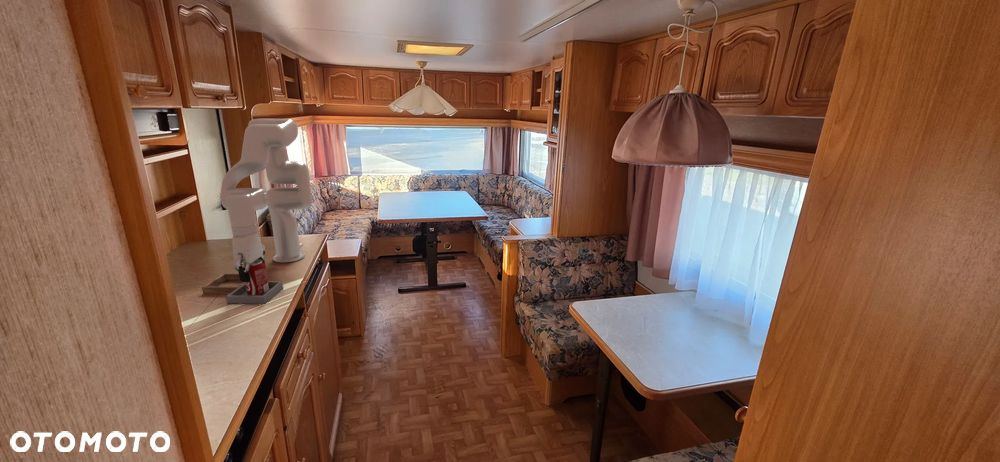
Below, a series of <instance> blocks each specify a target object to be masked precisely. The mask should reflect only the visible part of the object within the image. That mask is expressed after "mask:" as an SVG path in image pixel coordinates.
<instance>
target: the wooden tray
mask: <svg viewBox="0 0 1000 462" xmlns="http://www.w3.org/2000/svg"><path fill="white" fill-rule="evenodd" d="M226 281H240V277H239V273H234V272H233V273H231V272H230V273H227V272H226V273H225V272H224V273H222V274H221V275H220V276H218V277H216V278H214V279H213V280H212V281H210V282H208V283H207V284H205V285H204V286H202V287H201V289H202V290H201V291H202V294H205V295H207V294H208V295H210V294H211V295H229V294H230V293H232V292H233V291H234V290H236V289H237V288H239V287H240V286H241V285H243V284H244V283H245V282H240V284H239V285H237V286H220V285H221V284H223V283H225V282H226Z"/></svg>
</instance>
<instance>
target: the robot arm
mask: <svg viewBox="0 0 1000 462" xmlns="http://www.w3.org/2000/svg"><path fill="white" fill-rule="evenodd" d="M247 125H248V126H247V127H246V128H245V130H244V133H243V134H244V135H243V141H242V148H241V157H240V160H239V161H238V162H236V163H235V164H233V166H232V167H231V168H230V169H229V170H228V171H227V172H226V174H225V175H224V176H223V178H222V182H221V188H220V194H219V195H220V196H219V197H220V198H219V199H220V204H221V206H222V207H223V208H224V209H226V210H227V212H228V218H229V223H230V228H231V232H232V241H231V243H232V255H233V263H232V265H233V267H234V269H235V270H236V272H237V273H238V274H239V277H240V280H239V281H240V283H243V282H250V281H251V279H250V274H249V271H247V270H248V266H249V264H251V263H252V262H254V261H255V260H257V259H260V260H262V262H263V263H264V264H265V267H266V261H265V259H266V256H265V254H266V245H265V244H263V243H262V239H261V236H260V233H259V232H260V231H259V225H258V219H257V215H256V211H258V210H259V211H260V210H263V209H265V208H268V212H269V215H270V220H271V225H272V226H271V227H272V232H273V240H274V248H275V252H276V254H275V255H274V256H272V259H273V261H274V262H276V263H286V264H287V263H292V262H296V261H297V262H298V261H300V260H302V259H304V257H306V253H305V252H304V251H301V248H302V247H303V246H304V244H303V243H302V242H300V237H299V229H298V224H297V223H298V222H297V218H296V216H295V214H294V213H293V212H292V211H293V210H296V211H297V210H307V209H310V208H311V206H312V202H313V201H312V190H311V188H312V187H311V179H310V173H309V169H308V165H307V164H306V163H304V162H302V161H298V160H297V161H289V159H288V150H287V148H286V147H289V146H290V145H292V143H294V141H296V139H297V138H298V134H299V129H298V128H299V127H298V125H297V123H296V122H295V121H294V120H293V119H289V118H253V119H251V120H249V121H248V124H247ZM263 170H265V172H266V178H267V181H268V182H269V183H270V184H272V185H296V186H292V187H291V186H290V187H288V186H286V187H282V186H281V187H272V188H269V189H268V190H267V191H266V189H264V188H261V187H237V186H238V184H239V183H240V182H241V181H242V180H244V179H245V178H247V177H251V175H254V174H257V173H259V172H261V171H263ZM244 265H245V267H244ZM266 268H267V267H266Z"/></svg>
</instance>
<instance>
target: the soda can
mask: <svg viewBox="0 0 1000 462" xmlns="http://www.w3.org/2000/svg"><path fill="white" fill-rule="evenodd" d="M265 266H266V263H265V264H264V263H263V262H262V260H260V259H257V260H255V261H254V262H252V263H251V264H249V266H248V270H247V271H249V274H250V279H251V281H250V282H245V284H246V289H247V294H248V295H250V296H261V295H264V294H265V293H267V292H268V291H269V286H268V281H269V280H268V275H267V267H265ZM243 267H245V265H243Z"/></svg>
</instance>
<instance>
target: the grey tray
mask: <svg viewBox="0 0 1000 462" xmlns="http://www.w3.org/2000/svg"><path fill="white" fill-rule="evenodd" d="M268 286H269V291H268V292H267V293H265V294H264V295H261V296H250V295H248V294H247V289H246V284H245V283H244V284H243V285H241V286H240V287H239V288H237V289H236V290H234V291H233V292H232V293H230V294H226V296H225V298H226V303H227V305H231V306H233V305H234V306H236V305H241V306H242V305H244V306H246V305H247V306H249V305H253V306H255V305H256V306H257V305H259V304H261V306H263V305H262V304H266V303H267V302H268V303H269V302H270V301H271V300H273V297H274V298H275V296H277V295H278V294H280V293H281V292H282V291H283V290H284V285H283V281H279V280H278V281H270V280H268ZM268 303H267V304H268ZM267 304H266V305H267Z"/></svg>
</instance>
